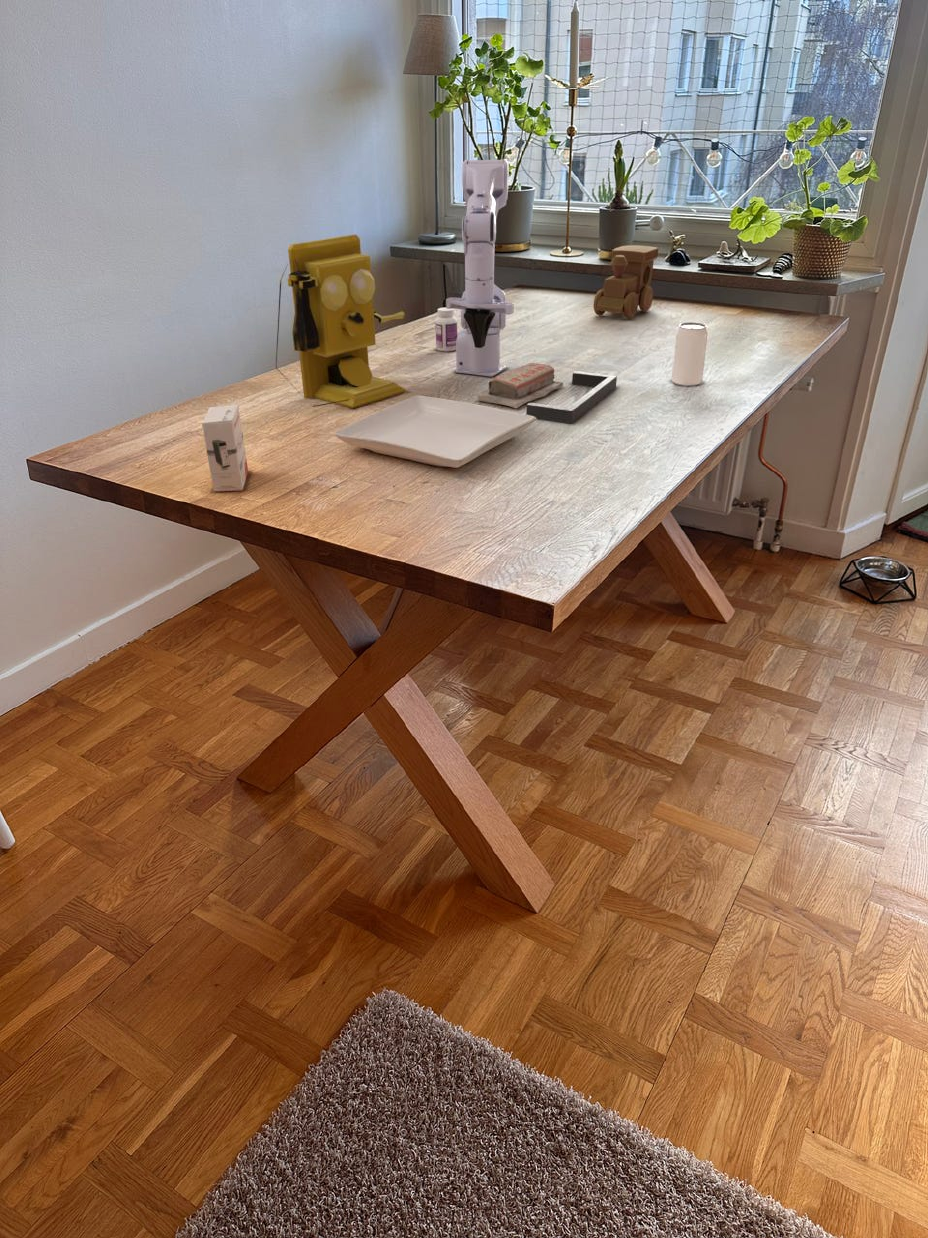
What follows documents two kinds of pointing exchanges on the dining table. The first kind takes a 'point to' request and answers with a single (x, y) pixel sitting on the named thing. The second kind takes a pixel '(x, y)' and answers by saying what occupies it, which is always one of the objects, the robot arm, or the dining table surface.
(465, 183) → the robot arm
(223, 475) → the ink box
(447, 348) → the pill bottle
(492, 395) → the packaged product
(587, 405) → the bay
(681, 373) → the can
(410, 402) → the square plate
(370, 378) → the vintage telephone
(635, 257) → the wooden toy train
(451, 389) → the dining table surface
